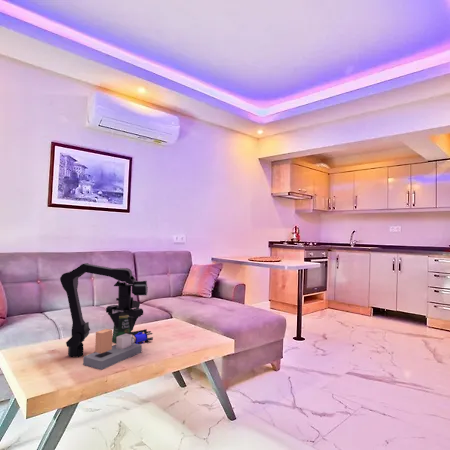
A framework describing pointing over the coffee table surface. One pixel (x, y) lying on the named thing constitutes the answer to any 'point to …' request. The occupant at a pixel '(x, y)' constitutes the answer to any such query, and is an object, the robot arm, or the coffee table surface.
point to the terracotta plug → (103, 341)
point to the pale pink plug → (123, 341)
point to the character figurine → (140, 336)
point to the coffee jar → (121, 326)
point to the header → (111, 356)
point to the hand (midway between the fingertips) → (124, 329)
